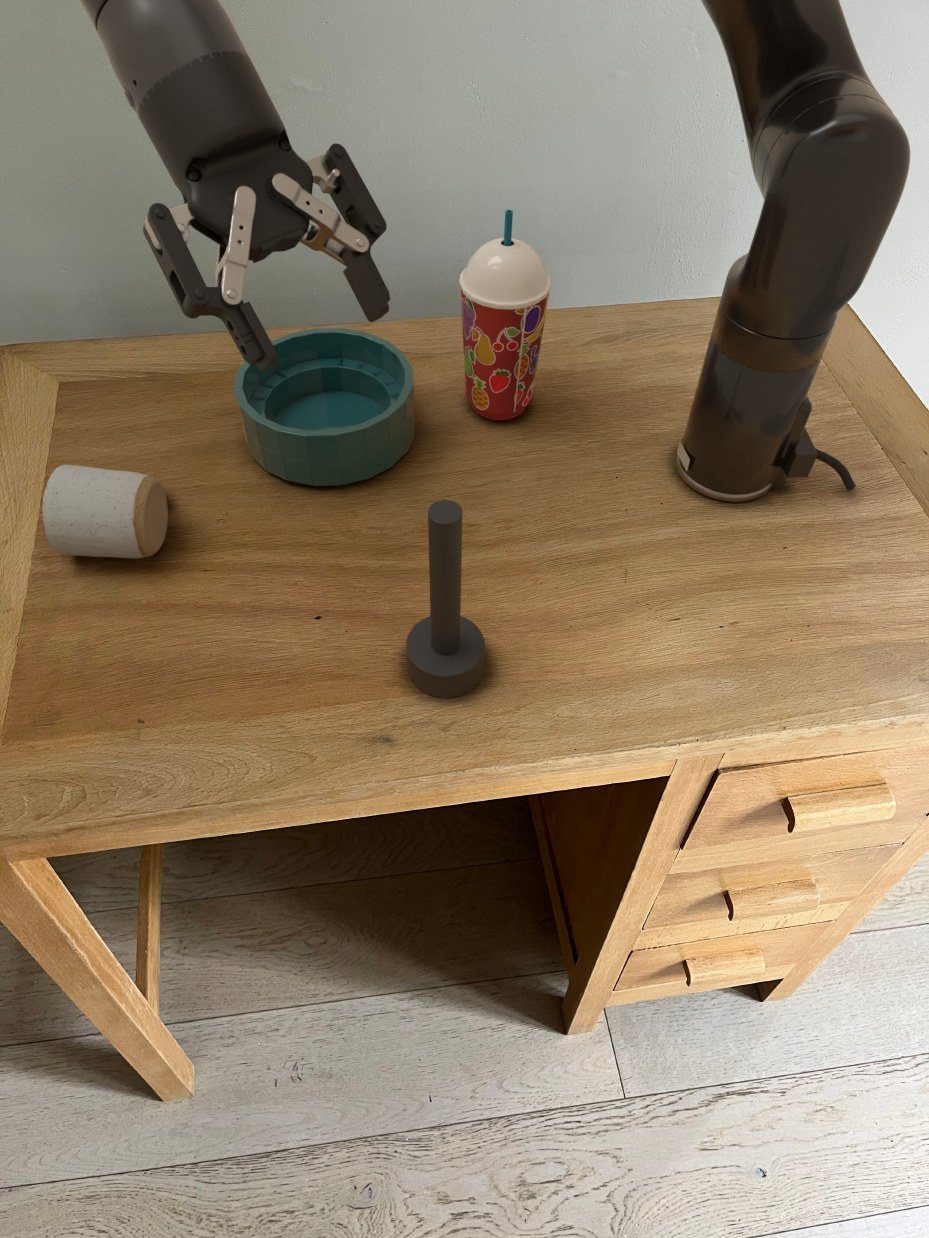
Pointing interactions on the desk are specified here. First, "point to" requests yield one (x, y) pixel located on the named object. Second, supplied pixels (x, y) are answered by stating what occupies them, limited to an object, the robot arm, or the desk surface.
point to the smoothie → (502, 324)
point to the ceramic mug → (104, 512)
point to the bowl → (328, 407)
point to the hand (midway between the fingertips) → (327, 340)
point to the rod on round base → (445, 616)
